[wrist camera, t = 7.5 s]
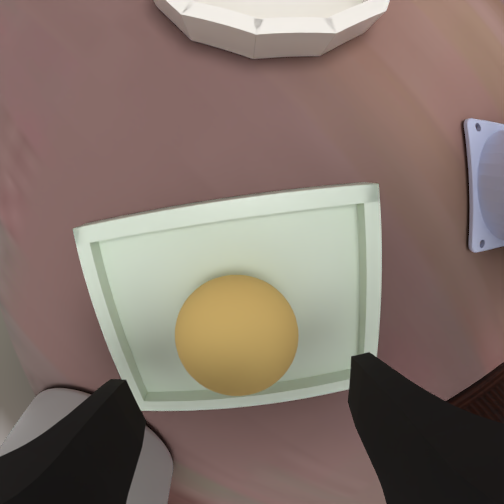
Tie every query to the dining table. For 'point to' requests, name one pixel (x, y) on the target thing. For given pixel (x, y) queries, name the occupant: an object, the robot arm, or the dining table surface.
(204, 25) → the bowl
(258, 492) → the dining table surface
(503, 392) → the brown manual coffee grinder
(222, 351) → the ball
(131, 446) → the robot arm
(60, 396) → the cylinder vase
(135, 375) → the tray
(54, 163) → the dining table surface
